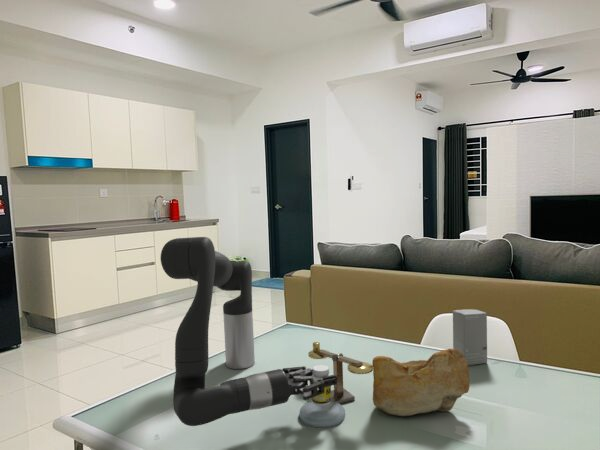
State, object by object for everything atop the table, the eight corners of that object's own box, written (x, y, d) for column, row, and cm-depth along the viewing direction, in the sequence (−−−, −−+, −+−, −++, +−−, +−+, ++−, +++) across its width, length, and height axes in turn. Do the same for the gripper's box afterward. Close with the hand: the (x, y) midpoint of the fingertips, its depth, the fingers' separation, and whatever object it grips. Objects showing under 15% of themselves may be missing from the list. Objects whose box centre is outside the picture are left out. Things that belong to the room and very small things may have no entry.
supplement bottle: (329, 407, 104) (328, 372, 103) (310, 405, 105) (309, 371, 104) (332, 398, 108) (331, 364, 108) (313, 396, 109) (312, 363, 109)
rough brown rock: (457, 392, 118) (453, 336, 119) (476, 418, 102) (471, 354, 102) (370, 395, 120) (366, 340, 121) (374, 421, 104) (370, 357, 104)
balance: (305, 380, 127) (304, 335, 126) (324, 376, 130) (322, 332, 129) (357, 425, 102) (355, 369, 101) (379, 419, 104) (377, 364, 103)
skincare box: (464, 366, 133) (464, 315, 132) (451, 358, 140) (450, 309, 139) (489, 363, 135) (488, 312, 134) (474, 355, 142) (474, 307, 141)
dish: (292, 411, 110) (292, 405, 110) (331, 401, 114) (331, 396, 114) (312, 432, 100) (311, 426, 100) (353, 420, 104) (353, 414, 104)
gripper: (275, 385, 94) (345, 370, 101) (254, 363, 107) (317, 351, 114) (276, 419, 94) (346, 402, 101) (255, 393, 107) (318, 379, 114)
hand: (330, 375), depth 107 cm, fingers closed on supplement bottle, 4 cm apart
